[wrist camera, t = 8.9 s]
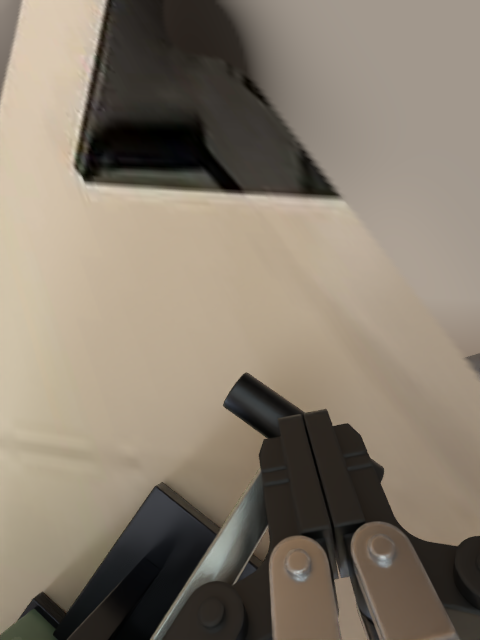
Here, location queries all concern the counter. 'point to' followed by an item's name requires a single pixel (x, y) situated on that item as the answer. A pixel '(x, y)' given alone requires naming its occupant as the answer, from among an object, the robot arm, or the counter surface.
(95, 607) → the lever bracket
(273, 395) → the lever
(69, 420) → the counter surface
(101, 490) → the counter surface
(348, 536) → the robot arm
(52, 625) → the toaster
